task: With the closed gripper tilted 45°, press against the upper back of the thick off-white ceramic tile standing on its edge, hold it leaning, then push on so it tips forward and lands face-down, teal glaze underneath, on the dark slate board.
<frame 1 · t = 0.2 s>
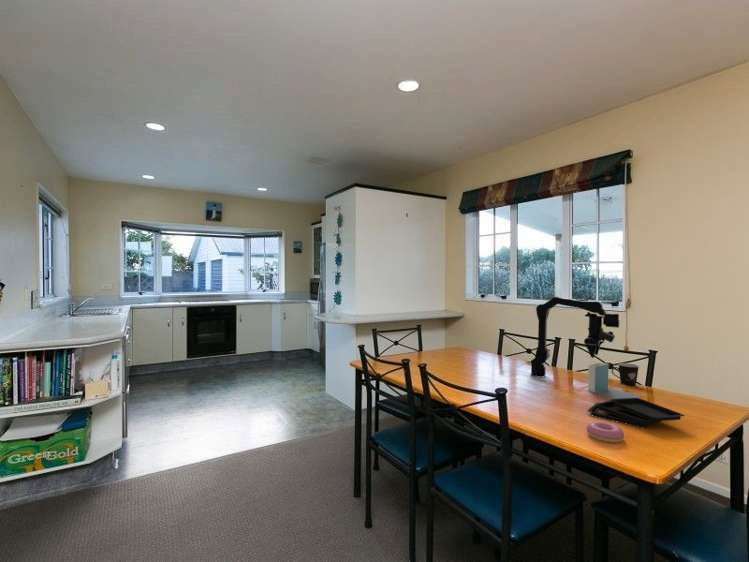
hand: (594, 356, 192), 14 cm above the table, tool pointing down, fingers open, 9 cm apart
doughnut: (605, 438, 128), on the table
coffee mug: (624, 384, 192), on the table
tray: (633, 419, 146), on the table
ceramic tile: (598, 389, 179), point 1 cm above the table, touching slate board
slate board: (612, 395, 173), on the table
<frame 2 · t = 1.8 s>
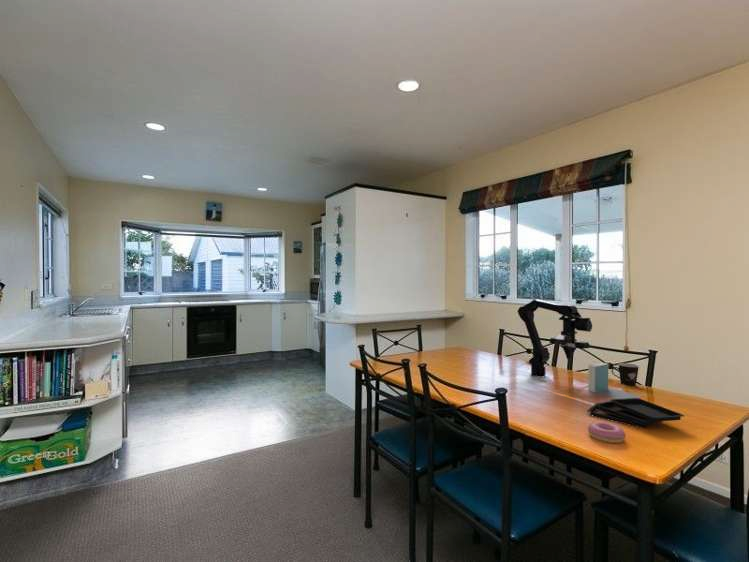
hand: (568, 359, 194), 12 cm above the table, tool pointing down, fingers closed
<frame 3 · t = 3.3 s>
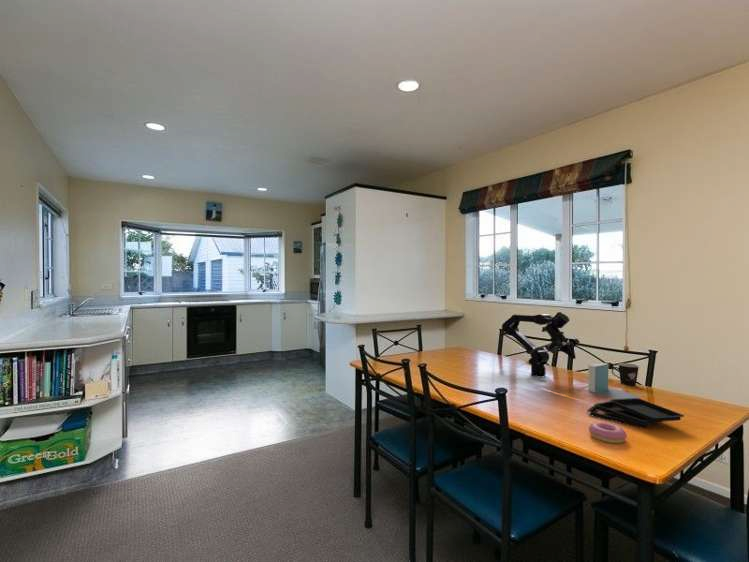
hand: (574, 358, 190), 14 cm above the table, tool tilted 45°, fingers closed
nothing on the table moved.
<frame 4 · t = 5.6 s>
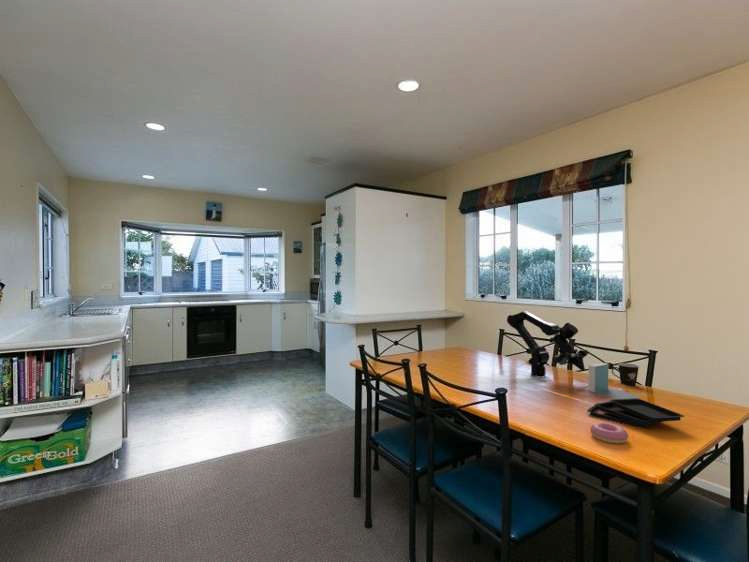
hand: (583, 370, 185), 8 cm above the table, tool tilted 45°, fingers closed
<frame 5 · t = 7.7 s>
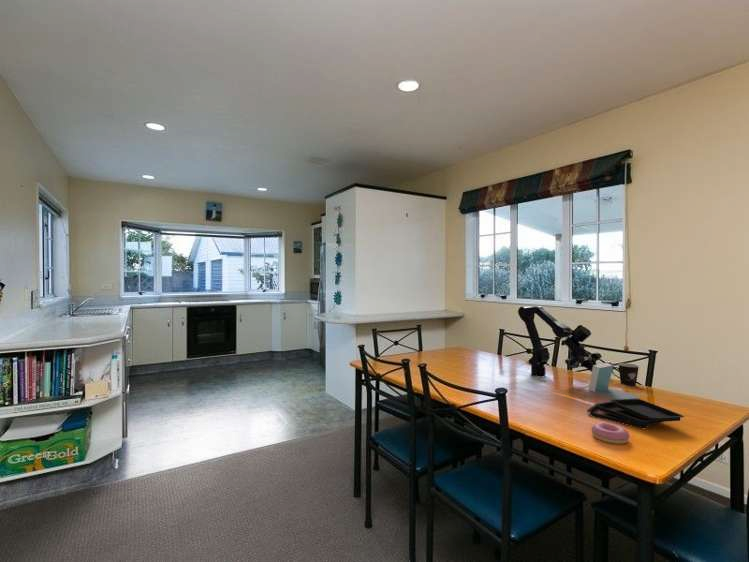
hand: (597, 374, 179), 8 cm above the table, tool tilted 45°, fingers closed, pressing on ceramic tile
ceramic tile: (598, 389, 179), point 1 cm above the table, tilted 10°, touching gripper, slate board
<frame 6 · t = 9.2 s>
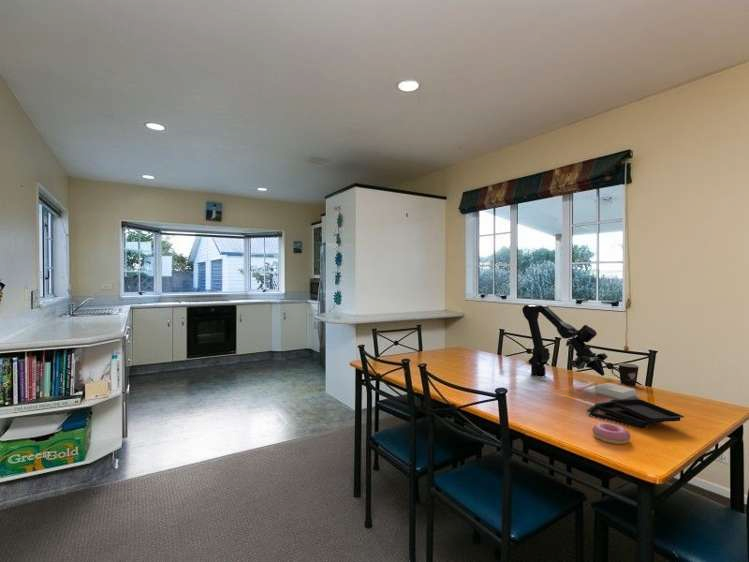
hand: (603, 375, 177), 8 cm above the table, tool tilted 45°, fingers closed
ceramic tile: (601, 387, 178), point 3 cm above the table, tilted 90°, touching slate board
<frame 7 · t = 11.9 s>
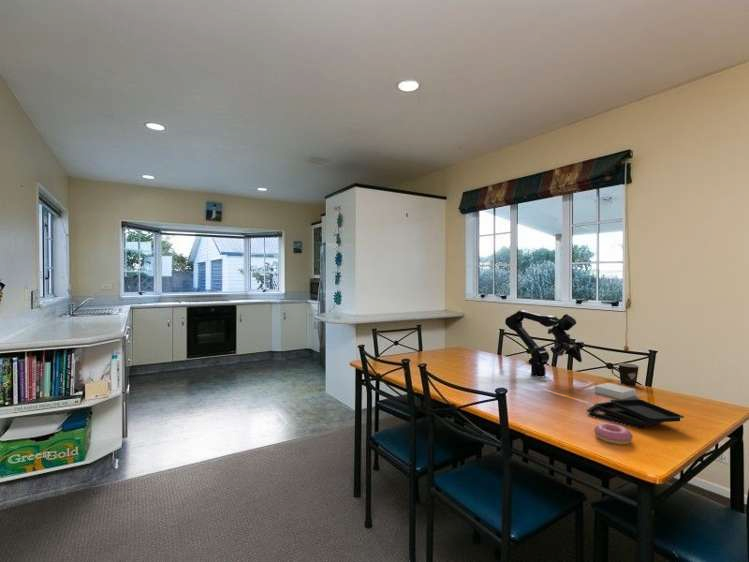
hand: (580, 361, 187), 12 cm above the table, tool tilted 45°, fingers closed
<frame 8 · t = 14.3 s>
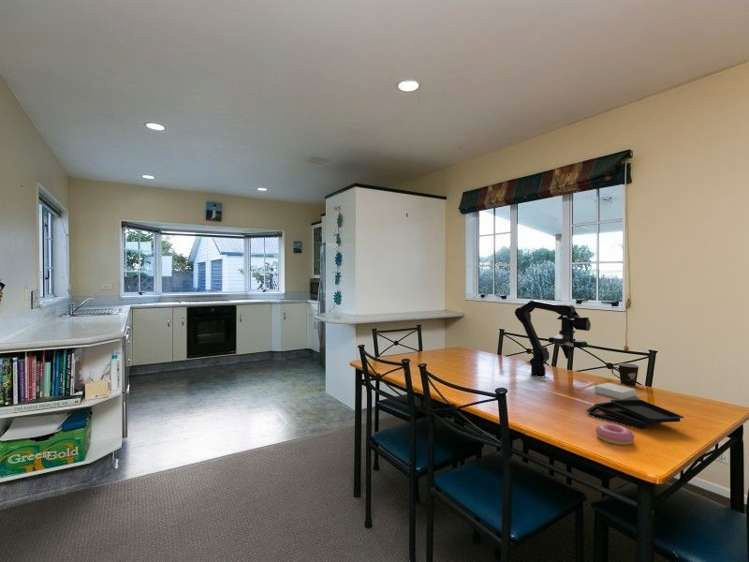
hand: (567, 358, 196), 12 cm above the table, tool pointing down, fingers closed
at the end: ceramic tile tilted 90°; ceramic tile touching slate board; the gripper is holding nothing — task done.
